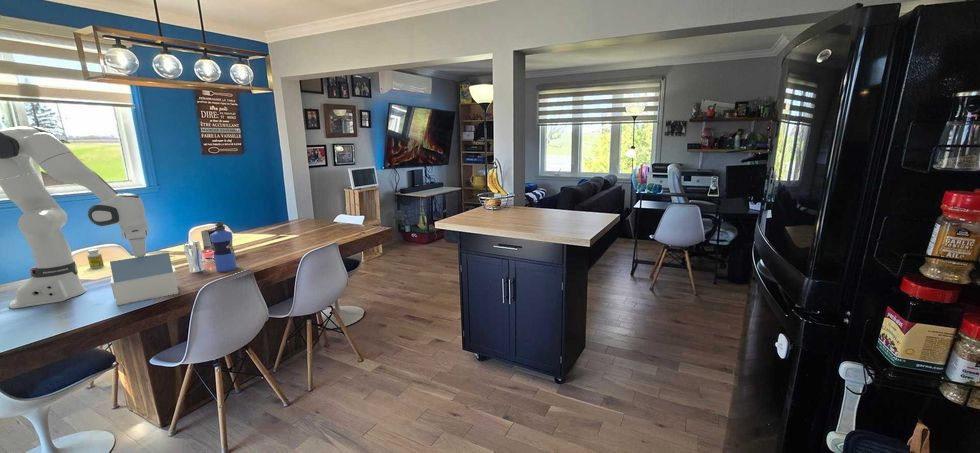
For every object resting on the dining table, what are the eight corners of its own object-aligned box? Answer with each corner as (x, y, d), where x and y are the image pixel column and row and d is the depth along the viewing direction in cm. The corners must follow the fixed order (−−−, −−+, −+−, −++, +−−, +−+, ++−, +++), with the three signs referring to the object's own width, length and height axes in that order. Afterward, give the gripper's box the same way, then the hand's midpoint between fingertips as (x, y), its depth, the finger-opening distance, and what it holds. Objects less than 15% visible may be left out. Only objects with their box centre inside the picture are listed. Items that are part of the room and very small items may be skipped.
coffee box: (214, 259, 229) (209, 231, 225) (205, 258, 230) (200, 231, 226) (227, 254, 237) (223, 227, 234) (218, 254, 239) (214, 227, 235)
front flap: (113, 282, 163) (113, 282, 162) (110, 261, 164) (109, 261, 164) (173, 272, 175) (173, 271, 175) (168, 252, 177) (168, 252, 176)
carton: (115, 306, 164) (110, 283, 162) (116, 296, 175) (111, 274, 173) (180, 293, 178) (175, 271, 176) (177, 284, 188) (173, 264, 186)
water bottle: (213, 273, 204) (204, 224, 199) (219, 267, 213) (212, 221, 208) (233, 271, 207) (226, 223, 201) (239, 265, 216) (232, 219, 210)
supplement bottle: (103, 264, 221) (100, 247, 219) (104, 266, 217) (100, 249, 215) (90, 267, 218) (86, 249, 216) (90, 269, 214) (86, 251, 212)
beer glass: (191, 274, 203) (185, 245, 200) (186, 271, 208) (181, 243, 204) (207, 270, 209) (202, 242, 206) (202, 267, 213) (197, 240, 210)
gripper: (125, 228, 178) (132, 258, 181) (125, 236, 163) (132, 269, 166) (144, 226, 182) (150, 256, 185) (145, 233, 167) (152, 265, 170)
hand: (142, 262), depth 175 cm, fingers closed
